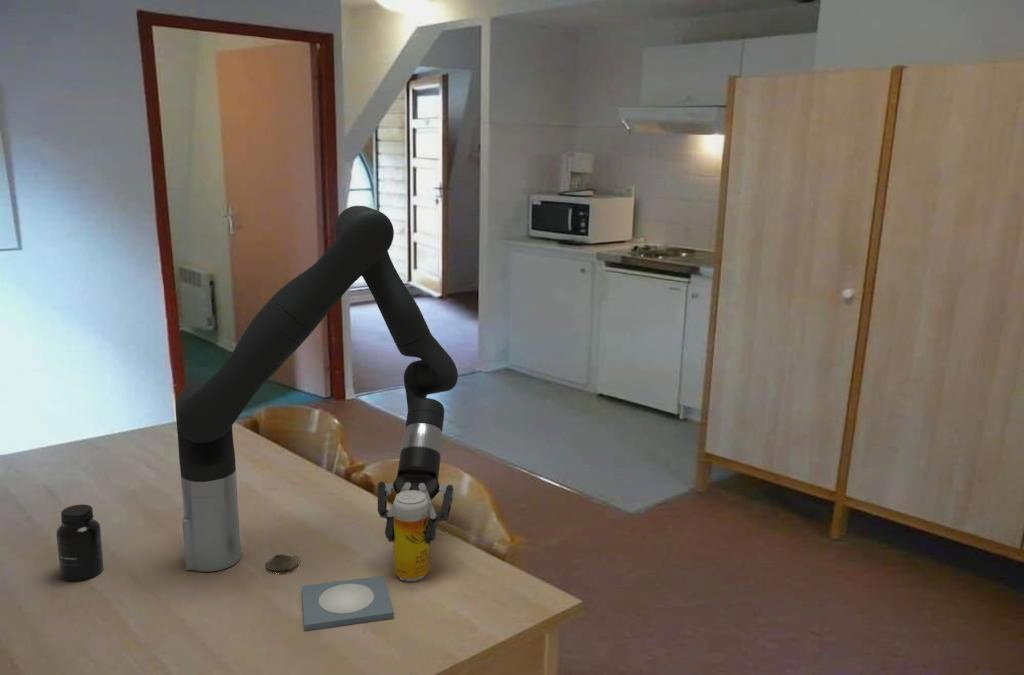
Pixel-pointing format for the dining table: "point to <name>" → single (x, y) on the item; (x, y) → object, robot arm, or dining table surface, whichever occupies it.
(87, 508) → the supplement bottle
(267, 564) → the decorative disc
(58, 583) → the dining table surface
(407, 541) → the beer can
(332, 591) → the board
